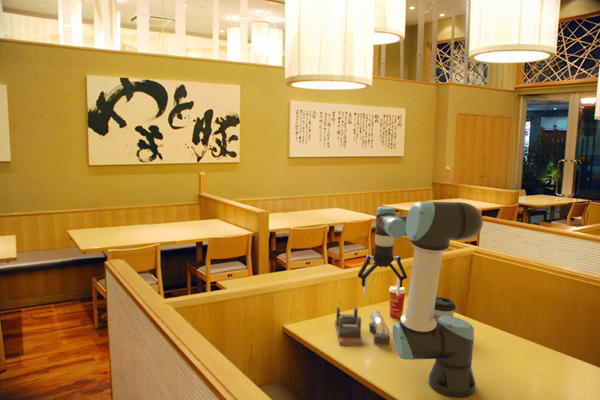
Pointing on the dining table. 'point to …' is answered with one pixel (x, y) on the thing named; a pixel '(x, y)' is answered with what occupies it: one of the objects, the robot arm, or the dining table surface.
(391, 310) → the paper cup
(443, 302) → the coffee cup
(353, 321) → the dark grey notched piece
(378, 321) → the silver metal cylinder
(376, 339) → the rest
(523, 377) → the dining table surface
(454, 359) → the robot arm
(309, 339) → the dining table surface
